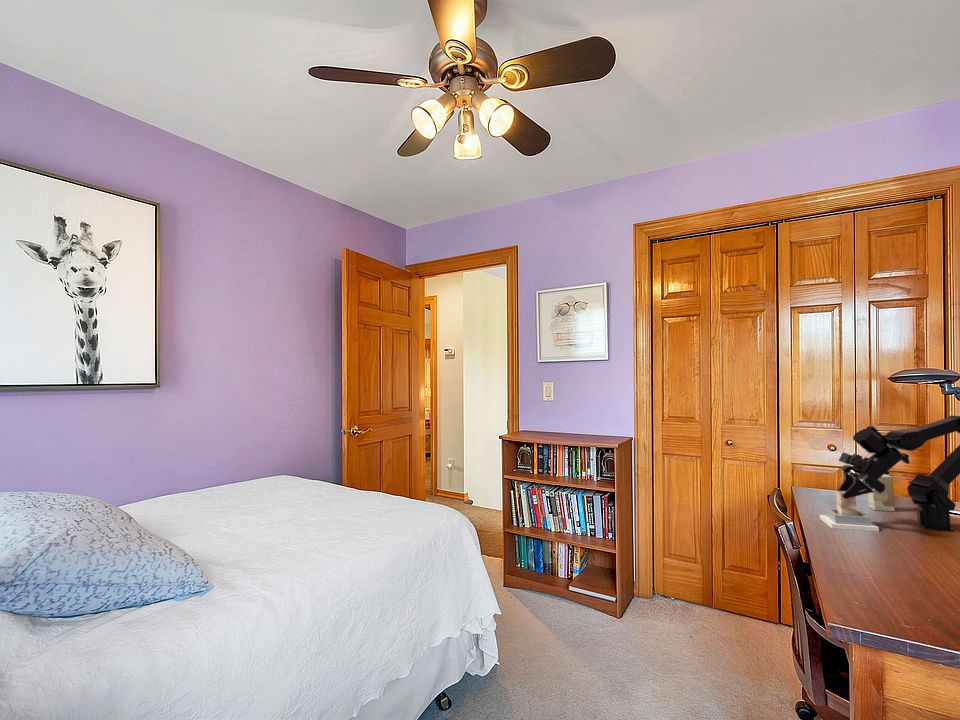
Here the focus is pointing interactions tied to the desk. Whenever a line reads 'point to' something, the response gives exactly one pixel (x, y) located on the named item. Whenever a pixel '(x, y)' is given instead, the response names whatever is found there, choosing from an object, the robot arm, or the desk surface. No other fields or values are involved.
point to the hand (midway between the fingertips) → (840, 495)
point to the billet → (846, 504)
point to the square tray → (848, 521)
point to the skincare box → (883, 496)
